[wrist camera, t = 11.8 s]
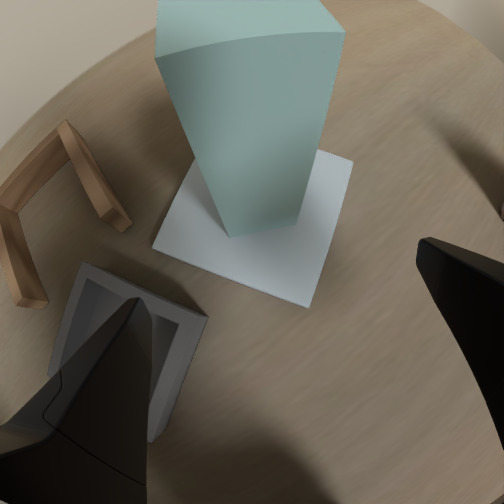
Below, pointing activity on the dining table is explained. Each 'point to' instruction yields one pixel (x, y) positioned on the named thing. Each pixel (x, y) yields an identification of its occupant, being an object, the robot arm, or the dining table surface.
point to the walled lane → (26, 185)
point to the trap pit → (163, 338)
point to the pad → (259, 235)
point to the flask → (502, 211)
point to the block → (250, 98)
